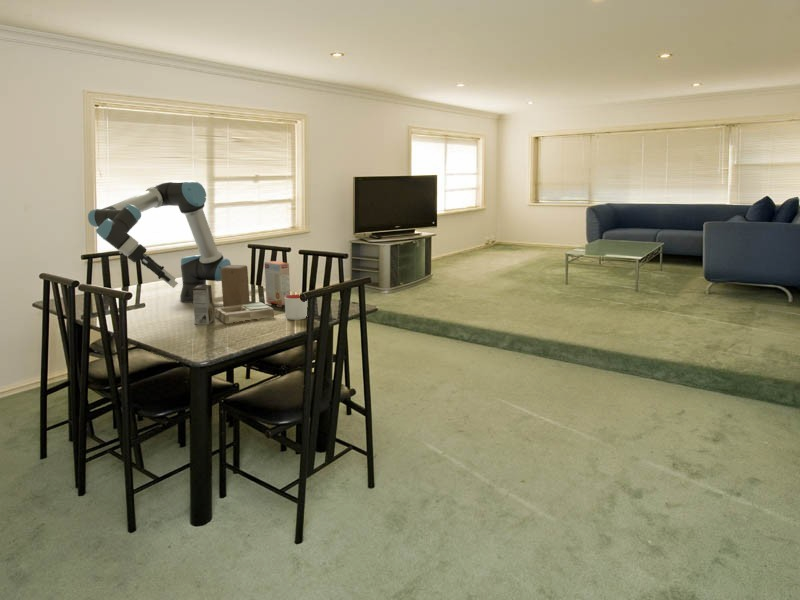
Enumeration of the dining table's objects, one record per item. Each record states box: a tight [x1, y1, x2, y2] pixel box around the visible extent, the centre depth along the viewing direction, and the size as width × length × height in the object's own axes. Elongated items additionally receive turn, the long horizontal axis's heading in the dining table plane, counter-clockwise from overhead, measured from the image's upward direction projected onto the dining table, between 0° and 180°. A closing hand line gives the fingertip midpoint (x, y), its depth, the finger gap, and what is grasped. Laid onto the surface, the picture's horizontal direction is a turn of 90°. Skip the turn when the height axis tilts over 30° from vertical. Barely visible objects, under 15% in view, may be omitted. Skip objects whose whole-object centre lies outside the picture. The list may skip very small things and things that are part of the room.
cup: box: [284, 293, 308, 321], centre depth 264 cm, size 10×10×10 cm
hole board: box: [214, 301, 275, 324], centre depth 268 cm, size 17×22×4 cm
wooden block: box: [220, 264, 251, 307], centre depth 289 cm, size 10×10×20 cm
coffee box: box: [192, 284, 215, 325], centre depth 258 cm, size 9×6×16 cm
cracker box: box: [264, 260, 291, 306], centre depth 295 cm, size 14×6×21 cm, turn 45°
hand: (174, 283), depth 251 cm, fingers open, 13 cm apart
